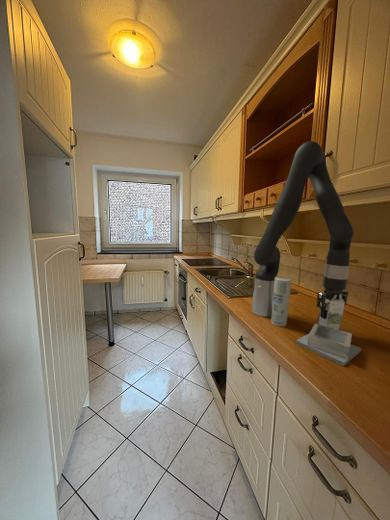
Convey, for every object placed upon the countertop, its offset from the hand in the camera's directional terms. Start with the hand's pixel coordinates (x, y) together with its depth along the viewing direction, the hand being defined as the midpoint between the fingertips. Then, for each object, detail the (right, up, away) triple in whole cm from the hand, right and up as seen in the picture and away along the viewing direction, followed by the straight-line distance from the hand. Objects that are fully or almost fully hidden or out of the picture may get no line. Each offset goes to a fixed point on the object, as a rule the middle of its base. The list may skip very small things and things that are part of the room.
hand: (329, 317), depth 83 cm
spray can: (-17, -5, +9) cm, 20 cm away
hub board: (-7, -8, -9) cm, 14 cm away
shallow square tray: (-7, -7, -10) cm, 14 cm away
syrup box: (0, -7, +1) cm, 7 cm away
